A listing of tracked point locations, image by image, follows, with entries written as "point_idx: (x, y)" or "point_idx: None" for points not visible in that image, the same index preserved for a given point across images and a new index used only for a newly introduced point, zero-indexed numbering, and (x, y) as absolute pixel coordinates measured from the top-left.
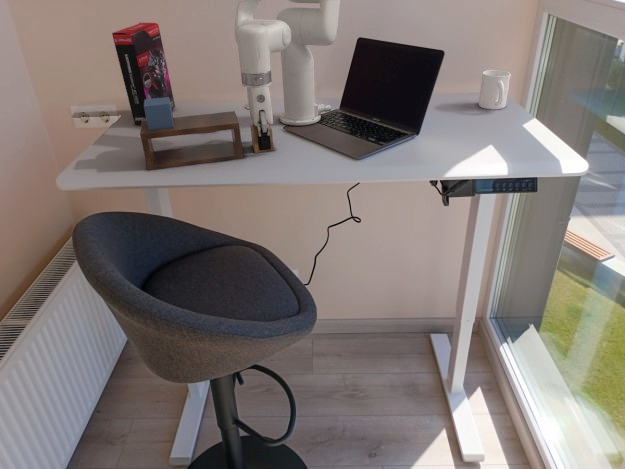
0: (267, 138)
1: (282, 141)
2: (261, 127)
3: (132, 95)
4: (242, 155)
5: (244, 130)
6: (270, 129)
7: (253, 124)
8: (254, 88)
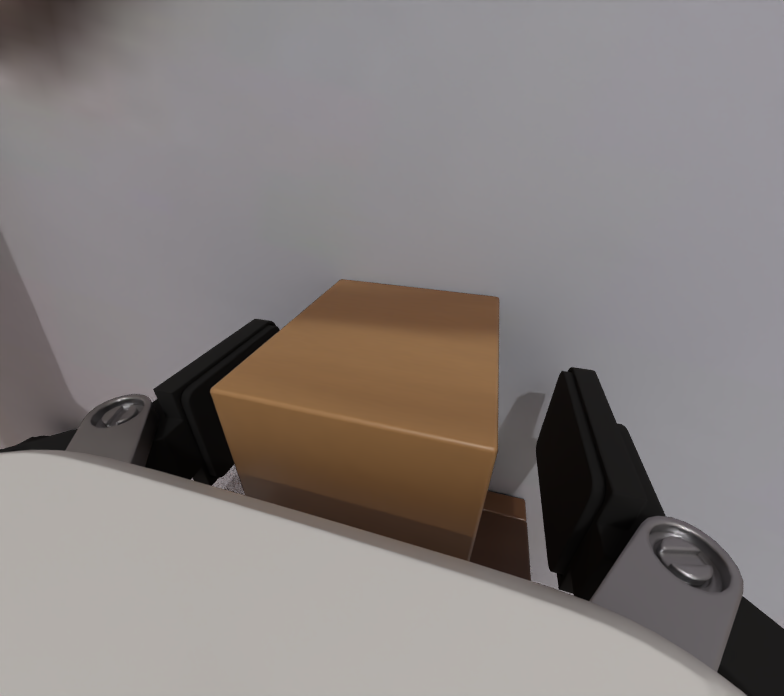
0: (661, 508)
1: (299, 149)
2: (361, 511)
3: None
4: (525, 516)
5: (96, 354)
6: (493, 465)
7: (200, 478)
8: None
